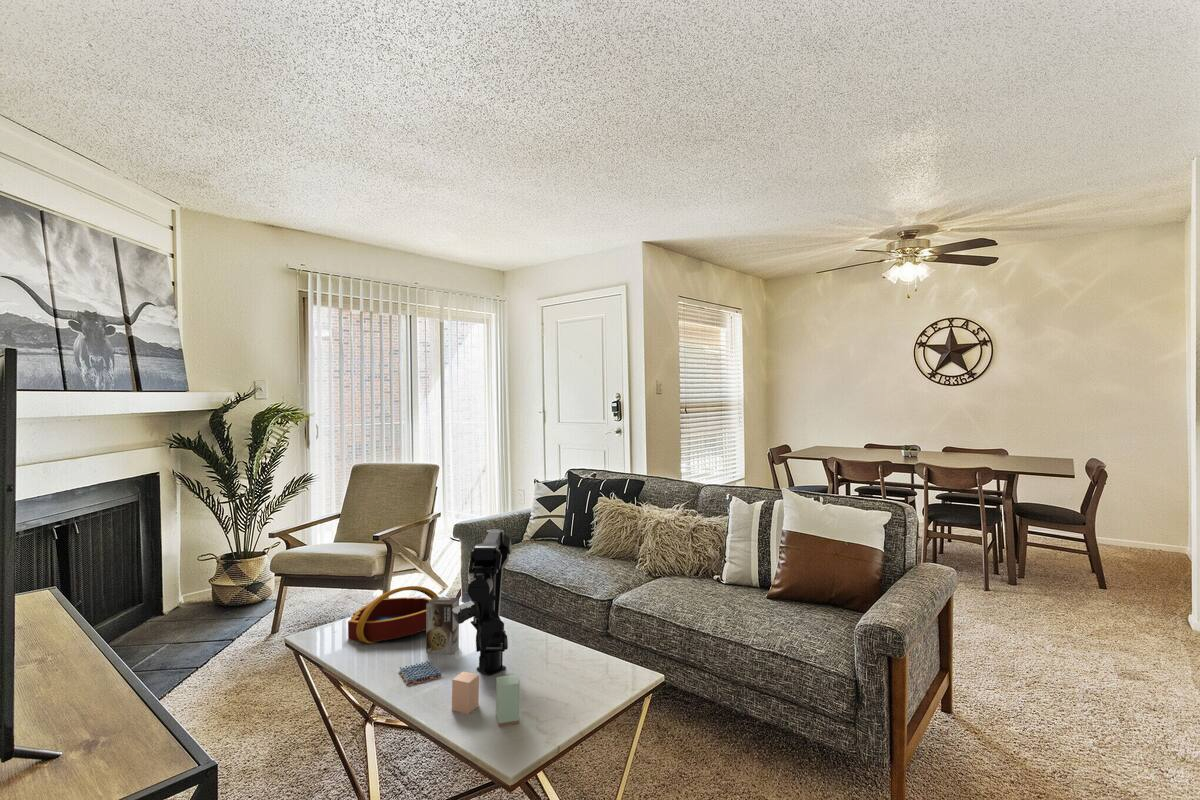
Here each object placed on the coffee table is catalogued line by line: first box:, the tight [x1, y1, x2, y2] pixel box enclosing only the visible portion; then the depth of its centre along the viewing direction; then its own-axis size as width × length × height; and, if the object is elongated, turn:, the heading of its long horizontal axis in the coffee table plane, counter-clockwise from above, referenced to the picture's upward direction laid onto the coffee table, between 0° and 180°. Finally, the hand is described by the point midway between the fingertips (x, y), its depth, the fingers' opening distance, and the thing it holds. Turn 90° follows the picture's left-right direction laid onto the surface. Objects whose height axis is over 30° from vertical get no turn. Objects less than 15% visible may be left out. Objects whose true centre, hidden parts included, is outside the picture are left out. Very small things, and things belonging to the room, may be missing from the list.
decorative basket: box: [347, 585, 439, 644], centre depth 205 cm, size 34×29×15 cm
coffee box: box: [425, 596, 460, 655], centre depth 188 cm, size 9×6×16 cm
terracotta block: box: [451, 671, 480, 715], centre depth 152 cm, size 5×5×8 cm
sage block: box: [495, 674, 520, 727], centre depth 146 cm, size 5×5×10 cm
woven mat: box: [398, 660, 443, 686], centre depth 170 cm, size 10×11×2 cm
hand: (483, 649), depth 158 cm, fingers closed
